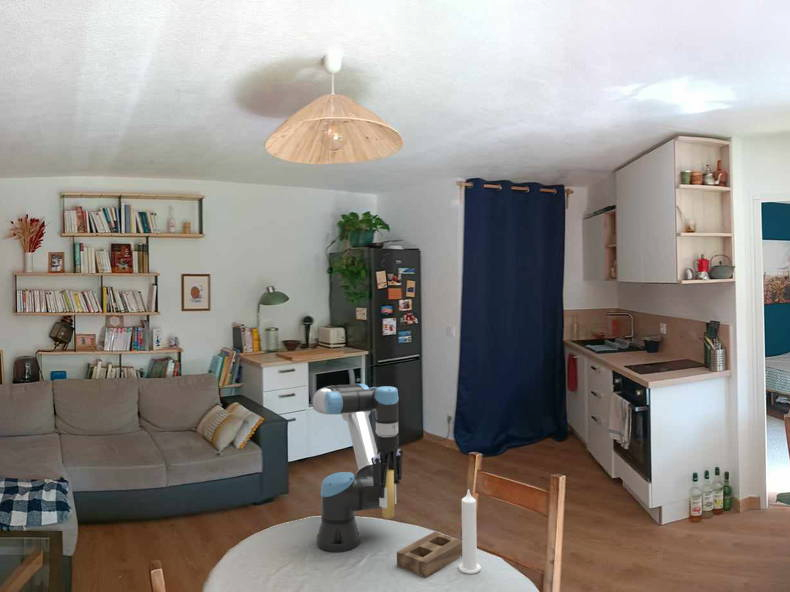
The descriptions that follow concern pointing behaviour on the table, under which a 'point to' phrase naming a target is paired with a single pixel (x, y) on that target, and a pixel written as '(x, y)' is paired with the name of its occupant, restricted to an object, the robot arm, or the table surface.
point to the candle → (469, 536)
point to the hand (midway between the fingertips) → (388, 504)
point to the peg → (389, 495)
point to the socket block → (429, 554)
